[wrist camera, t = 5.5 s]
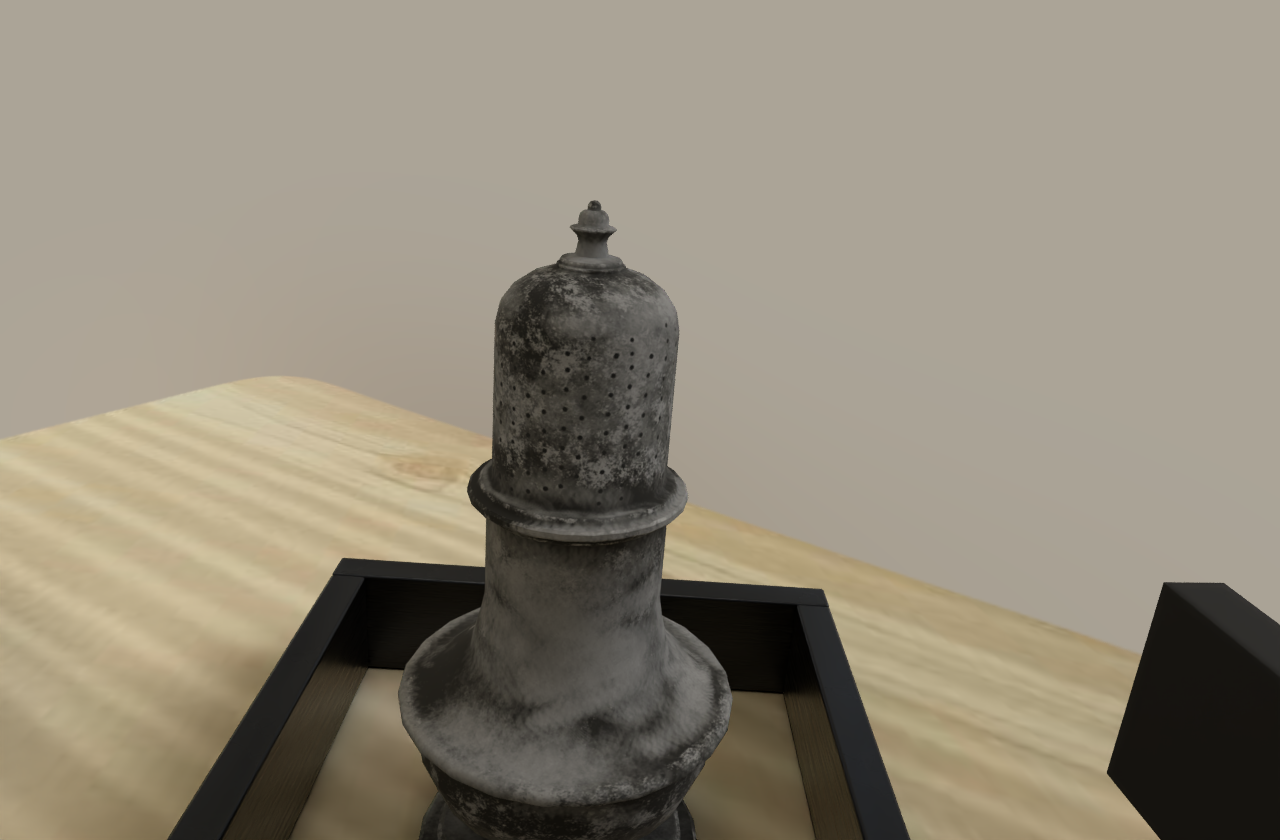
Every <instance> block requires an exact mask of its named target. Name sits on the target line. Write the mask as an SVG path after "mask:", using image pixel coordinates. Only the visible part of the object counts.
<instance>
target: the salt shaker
mask: <svg viewBox="0 0 1280 840" xmlns="http://www.w3.org/2000/svg"><path fill="white" fill-rule="evenodd" d="M570 228H571V229H572V230H573V231H574V232H575V233H576V234H577V237H578V240H579V241H578V244H577V248H576V252H575V253H567V254H564V255H562V256H561V258H560V260H558V261H557V263H556V264H552V265H549V266H544V267H540V268H537V269H535V270H534V271H532V272H530V273H529V274H527V275H525V276H524V277H522V278H520V279H519V280H517V281H515V282H514V283H513V284H512V285H511V287H510V288H509V289H508V291H507V292H506V293H505V294H504V296H503V297H502V299H501V301H500V304H499V308H498V312H497V316H496V320H495V346H494V393H493V442H492V459H490V460H488V461H487V462H485V463H483V464H482V465H481V466H480V467H479V468H478V469H477V470H476V471H475V472H474V473H473V474H472V475H471V477H470V480H469V484H468V487H467V493H468V495H469V498H470V501H471V504H472V505H473V506H474V507H475V508H476V509H477V510H478V511H479V512H480V513H481V514H482V515H483V516H484V517H485V518H486V558H485V593H484V597H483V601H482V605H481V607H480V608H478V609H476V610H473V611H471V612H469V613H467V614H465V615H463V616H460V617H458V618H456V619H454V620H452V621H450V622H449V623H447V624H446V625H445V626H443V627H442V628H441V629H439V630H438V631H437V632H435V633H434V634H433V635H431V636H430V637H429V638H427V639H426V640H425V641H424V642H423V643H422V644H421V646H420V647H419V648H418V650H417V651H416V652H415V654H414V655H413V656H412V658H411V659H410V660H409V662H408V663H407V664H406V666H405V670H404V673H403V677H402V680H401V684H400V688H399V691H398V698H399V704H400V710H401V717H402V723H403V726H404V728H405V729H406V731H407V732H408V734H409V736H410V737H411V739H412V740H413V742H414V744H415V745H416V747H417V748H418V750H419V751H420V753H421V756H422V762H423V764H424V765H425V767H426V769H427V771H428V773H429V774H430V776H431V778H432V780H433V782H434V783H435V785H436V787H437V789H438V791H439V792H438V793H437V794H436V796H435V798H434V799H433V801H432V803H431V805H430V807H429V808H428V810H427V812H426V814H425V815H424V817H423V821H422V826H421V831H420V836H419V840H697V839H696V833H695V826H694V820H693V818H692V816H691V814H690V812H689V810H688V808H687V806H686V804H685V802H684V800H683V798H684V796H685V795H686V793H687V792H688V790H689V789H690V787H691V786H692V784H693V782H694V781H695V779H696V778H697V776H698V775H699V773H700V772H701V770H702V768H703V767H704V765H705V761H706V760H707V759H708V758H709V757H711V755H712V754H713V752H714V750H715V749H716V747H717V746H718V744H719V743H720V741H721V739H722V738H723V736H724V735H725V733H726V732H727V730H728V724H729V718H730V712H731V706H732V699H733V698H732V694H731V690H730V686H729V682H728V678H727V674H726V672H725V670H724V669H723V667H722V666H721V664H720V663H719V662H718V660H717V659H716V657H715V656H714V654H713V653H712V651H711V650H710V649H709V647H708V646H706V645H705V644H704V643H703V642H702V641H700V640H699V639H698V638H697V637H696V636H694V635H693V634H692V633H691V632H690V631H688V630H687V629H686V628H685V627H683V626H681V625H679V624H678V623H676V622H674V621H672V620H670V619H668V618H666V617H664V616H662V611H661V603H660V590H661V579H662V568H663V557H664V546H665V536H666V525H668V524H669V523H671V522H672V521H673V520H674V519H675V518H676V517H677V516H679V515H680V514H681V513H682V512H683V510H684V508H685V505H686V503H687V500H688V493H687V489H686V485H685V483H684V482H683V480H682V479H681V478H680V477H679V476H678V475H677V473H676V472H675V471H674V470H672V469H671V468H669V467H668V466H667V462H668V451H669V439H670V429H671V417H672V407H673V396H674V384H675V374H676V363H677V350H678V340H679V326H678V318H677V312H676V309H675V307H674V305H673V304H672V302H671V300H670V298H669V297H668V295H667V293H666V292H665V290H663V289H662V288H661V287H660V286H658V285H657V284H656V283H655V282H653V281H652V280H651V279H650V278H648V277H647V276H645V275H644V274H642V273H639V272H637V271H634V270H631V269H628V268H626V266H625V265H624V264H623V262H622V260H621V259H620V258H618V257H615V256H612V255H608V248H607V240H608V238H609V236H610V235H612V234H613V233H614V232H616V231H617V229H616V228H614V227H612V226H609V217H608V214H607V213H606V212H605V211H602V210H601V204H600V203H599V202H598V201H591V202H590V203H589V204H588V209H587V210H583V211H582V212H581V213H580V215H579V221H578V224H574V225H571V226H570Z"/></svg>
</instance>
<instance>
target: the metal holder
mask: <svg viewBox="0 0 1280 840" xmlns="http://www.w3.org/2000/svg"><path fill="white" fill-rule="evenodd" d="M332 575H333V576H331V578H330V579H329V581H328V583H327V584H326V586H325V588H324V589H323V591H322V592H321V594H320V596H319V597H318V599H317V600H316V602H315V604H314V605H313V607H312V608H311V610H310V612H309V613H308V615H307V616H306V618H305V620H304V621H303V623H302V624H301V626H300V628H299V629H298V631H297V632H296V634H295V636H294V637H293V639H292V640H291V642H290V644H289V645H288V647H287V648H286V650H285V652H284V653H283V655H282V656H281V658H280V660H279V661H278V663H277V664H276V666H275V668H274V669H273V671H272V672H271V674H270V676H269V677H268V679H267V680H266V682H265V684H264V685H263V687H262V688H261V690H260V692H259V693H258V695H257V696H256V698H255V700H254V701H253V703H252V704H251V706H250V708H249V709H248V711H247V712H246V714H245V716H244V717H243V719H242V720H241V722H240V724H239V725H238V727H237V728H236V730H235V732H234V733H233V735H232V736H231V738H230V740H229V741H228V743H227V744H226V746H225V748H224V749H223V751H222V752H221V754H220V756H219V757H218V759H217V760H216V762H215V764H214V765H213V767H212V768H211V770H210V772H209V773H208V775H207V776H206V778H205V780H204V781H203V783H202V784H201V786H200V788H199V789H198V791H197V793H196V794H195V796H194V797H193V799H192V801H191V802H190V804H189V805H188V807H187V809H186V810H185V812H184V813H183V815H182V817H181V818H180V820H179V821H178V823H177V825H176V826H175V828H174V829H173V831H172V833H171V834H170V836H169V837H168V839H167V840H287V839H288V837H289V835H290V833H291V831H292V828H293V826H294V824H295V822H296V820H297V818H298V816H299V813H300V811H301V809H302V807H303V805H304V803H305V801H306V798H307V796H308V794H309V792H310V790H311V788H312V786H313V783H314V781H315V779H316V777H317V775H318V773H319V771H320V768H321V766H322V764H323V762H324V760H325V758H326V756H327V753H328V751H329V749H330V747H331V745H332V743H333V741H334V738H335V736H336V734H337V732H338V730H339V728H340V726H341V723H342V721H343V719H344V717H345V715H346V713H347V711H348V708H349V706H350V704H351V702H352V700H353V698H354V696H355V693H356V691H357V689H358V687H359V685H360V683H361V681H362V678H363V676H364V674H365V672H366V670H367V668H368V666H376V667H392V668H405V666H406V664H407V663H408V662H409V660H410V659H411V658H412V656H413V655H414V654H415V652H416V651H417V650H418V648H419V647H420V646H421V644H422V643H423V642H424V641H425V640H426V639H427V638H429V637H430V636H431V635H433V634H434V633H435V632H437V631H438V630H439V629H441V628H442V627H443V626H445V625H446V624H447V623H449V622H450V621H452V620H454V619H456V618H458V617H460V616H463V615H465V614H467V613H469V612H471V611H473V610H476V609H478V608H480V607H481V605H482V601H483V597H484V593H485V567H475V566H460V565H444V564H429V563H413V562H398V561H383V560H367V559H352V558H342V560H341V561H340V563H339V564H338V566H337V568H336V569H335V571H334V572H333V574H332ZM660 603H661V611H662V616H664V617H666V618H668V619H670V620H672V621H674V622H676V623H678V624H679V625H681V626H683V627H685V628H686V629H687V630H688V631H690V632H691V633H692V634H693V635H694V636H696V637H697V638H698V639H699V640H700V641H702V642H703V643H704V644H705V645H706V646H708V647H709V649H710V650H711V651H712V653H713V654H714V656H715V657H716V659H717V660H718V662H719V663H720V664H721V666H722V667H723V669H724V670H725V672H726V674H727V678H728V682H729V686H730V689H743V690H759V691H775V692H783V693H784V697H785V702H786V706H787V710H788V715H789V719H790V724H791V728H792V732H793V737H794V741H795V746H796V750H797V754H798V759H799V763H800V768H801V772H802V776H803V781H804V785H805V790H806V794H807V798H808V803H809V807H810V812H811V816H812V820H813V825H814V829H815V834H816V838H817V840H910V837H909V835H908V832H907V829H906V826H905V823H904V820H903V817H902V815H901V812H900V809H899V806H898V803H897V800H896V797H895V794H894V792H893V789H892V786H891V783H890V780H889V777H888V774H887V772H886V769H885V766H884V763H883V760H882V757H881V754H880V752H879V749H878V746H877V743H876V740H875V737H874V734H873V732H872V729H871V726H870V723H869V720H868V717H867V714H866V712H865V709H864V706H863V703H862V700H861V697H860V694H859V692H858V689H857V686H856V683H855V680H854V677H853V674H852V672H851V669H850V666H849V663H848V660H847V657H846V654H845V652H844V649H843V646H842V643H841V640H840V637H839V634H838V632H837V629H836V626H835V623H834V620H833V617H832V614H831V612H830V609H829V605H828V602H827V599H826V596H825V594H824V591H823V590H822V589H813V588H797V587H782V586H767V585H751V584H736V583H721V582H705V581H690V580H674V579H661V590H660Z"/></svg>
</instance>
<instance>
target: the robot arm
mask: <svg viewBox="0 0 1280 840" xmlns="http://www.w3.org/2000/svg"><path fill="white" fill-rule="evenodd" d="M1107 774H1108V775H1109V777H1110V778H1111V779H1112V780H1113V782H1114V783H1115V784H1116V785H1117V787H1118V788H1119V789H1120V790H1121V791H1122V793H1123V794H1124V795H1125V796H1126V798H1127V799H1128V800H1129V801H1130V803H1131V804H1132V805H1133V806H1134V807H1135V809H1136V810H1137V811H1138V812H1139V814H1140V815H1141V816H1142V817H1143V819H1144V820H1145V821H1146V822H1147V823H1148V825H1149V826H1150V827H1151V828H1152V830H1153V831H1154V832H1155V833H1156V834H1157V836H1158V837H1159V838H1160V839H1161V840H1280V625H1279V624H1278V623H1277V622H1275V621H1274V620H1273V619H1271V618H1270V617H1269V616H1267V615H1266V614H1265V613H1263V612H1262V611H1260V610H1259V609H1258V608H1257V607H1255V606H1254V605H1253V604H1251V603H1250V602H1248V601H1247V600H1246V599H1245V598H1243V597H1242V596H1241V595H1239V594H1238V593H1236V592H1235V591H1234V590H1232V589H1231V588H1230V587H1228V586H1227V585H1226V584H1224V583H1172V582H1164V583H1163V587H1162V590H1161V593H1160V597H1159V600H1158V603H1157V607H1156V610H1155V613H1154V617H1153V620H1152V623H1151V627H1150V630H1149V633H1148V637H1147V641H1146V643H1145V647H1144V650H1143V653H1142V657H1141V660H1140V663H1139V667H1138V670H1137V673H1136V677H1135V680H1134V683H1133V687H1132V690H1131V693H1130V697H1129V700H1128V703H1127V707H1126V710H1125V713H1124V717H1123V720H1122V723H1121V727H1120V730H1119V733H1118V737H1117V740H1116V743H1115V747H1114V750H1113V753H1112V757H1111V760H1110V763H1109V767H1108V770H1107Z"/></svg>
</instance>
